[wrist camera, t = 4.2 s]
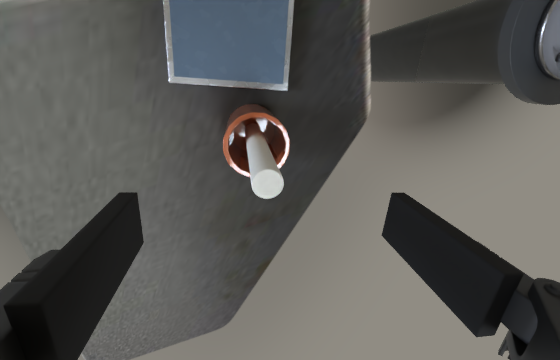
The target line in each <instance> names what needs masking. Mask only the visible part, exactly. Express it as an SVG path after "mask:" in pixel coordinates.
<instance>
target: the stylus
mask: <svg viewBox="0 0 560 360" xmlns="http://www.w3.org/2000/svg"><path fill="white" fill-rule="evenodd" d="M245 138H246V146H247V154H248V161H249V169H250V177H251V184H252V189H253V191H254V193H255V194H256V195H257V196H259V197H261V198H264V199H270V198H274V197H276V196H277V195H278V194H279V193H280V192H281V191H282V189H283V186H284V180H283V177H282V175H281V173H280V171H279V169H278V166H277V164H276V162H275V160H274V158H273V155H272V153H271V151H270V149H269V147H268V144H267V142H266V140H265V138H264V136H263V133H262V131H261V129H260V127H259V126H258V125H257V124H254V123H252V124H249V125H247V126H246V128H245Z"/></svg>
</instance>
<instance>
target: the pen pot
mask: <svg viewBox="0 0 560 360" xmlns="http://www.w3.org/2000/svg"><path fill="white" fill-rule="evenodd" d="M252 123H254V124H257V125H258V126H259V127H260V129H261V131H262V133H263V136H264V138H265V140H266V142H267V144H268V147H269V149H270V151H271V153H272V155H273V158H274V160H275V162H276V164H277V166H278V169H279V168H280V167H282V166H283V165H284V163H285V161H286V159H287V157H288V155H289V148H290V140H289V136H288V133H287V130H286V128H285V127H284V126H283V125H282V124H281V123H280V121H279V120H278V119H277V118H276V117H275V116H274V115H273V114H272V113H271V112H270V111H269V110H268V109H266V108H264V107H263V106H260V105H257V104H247V105H243V106H241V107H239V108H237V109H236V110H235V111H234V112H233V113H232V114H231V116H230V118H229V120H228V123H227V126H226V130H225V134H224V138H223V152H224V155H225V157H226V159H227V161H228V164H229V165H230V166H231V167H232V168H233V169H234V170H235V171H237V172H238V173H240V174H242V175H245V176H247V177H250V169H249V161H248V154H247V146H246V138H245V128H246V126H247V125H249V124H252Z"/></svg>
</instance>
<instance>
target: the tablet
mask: <svg viewBox="0 0 560 360" xmlns="http://www.w3.org/2000/svg"><path fill="white" fill-rule="evenodd" d="M163 7H164V21H165V34H166V48H167V61H168V75H169V83H176V84H191V85H206V86H221V87H236V88H251V89H266V90H280V91H288V81H289V67H290V54H291V40H292V27H293V13H294V0H163Z"/></svg>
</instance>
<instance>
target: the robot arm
mask: <svg viewBox="0 0 560 360" xmlns="http://www.w3.org/2000/svg"><path fill="white" fill-rule="evenodd" d="M534 57H535V61H536V64H537V66H538V68H539V70H540V71H541V72H542V74H544V75H545V76H546V77H548V78H550V79H553V80H557V81H560V0H550V1H549V2H548V4H547V6H546V7H545V9H544V11H543V13H542V15H541V17H540V20H539V22H538V25H537V28H536V33H535V38H534ZM382 236H383V237H384V238H385V239H386V241H387V242H388V243H389V244H390V245H391V246H392V247H393V248H394V249H395V250H396V251H397V253H399V255H400V256H401V257H402V258H403V259H404V260H405V261H406V262H407V263H408V264H409V265H410V266H411V268H412V269H413V270H414V271H415V272H416V273H417V274H418V275H419V276H420V277H421V278H422V279H423V280H424V282H425V283H426V284H427V285H428V286H429V287H430V288H431V289H432V290H433V291H434V292H435V293H436V294H437V295H438V297H440V299H441V300H442V301H443V302H444V303H445V304H446V305H447V306H448V307H449V308H450V309H451V311H452V312H453V313H454V314H455V315H456V316H457V317H458V318H459V319H460V320H461V321H462V322H463V323H464V324H465V326H467V328H468V329H469V330H470V331H471V332H472V333H473V334H474V335H475V336H476V337H482V336H492V335H495V333H496V331H497V329H498V327H499V324H500V323H501V322H502V323H503V324H504V325H505V326H506V327H507V328H508V329H509V331H508V333H507V335H506V337H505V339H504V341H503V343H502V345H501V347H500V349H499V352H498V355H501V356H502V355H503V353H504V351H507V350H508V351H509V356H508V359H510V360H560V283H559V282H556V281H554V280H549V279H545V278H537V279H535V280H534V279H532V278H531V277H529V276H528V275H526V274H525V273H523V272H522V271H521V270H519V269H517V268H516V267H515V266H513V265H511V264H510V263H509V262H507V261H505V260H504V259H502V258H500V257H499V256H498V255H497V254H495V253H494V252H492V251H490V250H489V249H488V248H486V247H485V246H483V245H482V244H480V243H479V242H477V241H475V240H473V239H472V238H470V237H469V236H467V235H466V234H465V233H463V232H462V231H460V230H459V229H457V228H456V227H454V226H453V225H451V224H450V223H448V222H447V221H445V220H444V219H442V218H441V217H439V216H438V215H436V214H435V213H433V212H432V211H431V210H429V209H428V208H426V207H425V206H423V205H422V204H420V203H419V202H417V201H416V200H414V199H413V198H411V197H410V196H408V195H407V194H405V193H392V194H391V198H390V203H389V207H388V212H387V215H386V220H385V224H384V228H383V233H382ZM143 243H144V241H143V234H142V226H141V219H140V211H139V204H138V196H137V193H118V194H117V195H116V196H115V197H114V198H113V199H112V200H111V201H110V202H109V203H108V204H107V205H106V206H105V207H104V208H103V209H102V210H101V211H100V212H99V213H98V214H97V215H96V216H95V217H94V218H93V219H92V220H91V221H90V222H89V223H88V224H87V225H86V226H85V227H83V228H82V229H81V230H80V231H79V232H78V233H77V234H76V235H75V236H74V237H73V238H72V239H71V240H70V241H69V242H68V243H67V244H66V245H65V246H64V247H63V248H62V249H61V250H50V251H49V252H47V253H45V254H43V255H41V256H40V257H38V258H36V259H34V260H33V261H32V262H31V263H30V264H29V265H27V266H26V267H25V268H24V269H23V270H22V272H21V273H19V274H17V275H16V276H15V277H14V278H13V279H12V280H11V282H10V283H7V284H6V285H5V286H4V287H3V288H2V289H1V290H0V360H78V358H79V356H80V354H81V352H82V351H83V349H84V347H85V345H86V344H87V342H88V340H89V338H90V337H91V335H92V333H93V331H94V329H95V328H96V326H97V324H98V322H99V321H100V319H101V317H102V315H103V314H104V312H105V310H106V308H107V306H108V305H109V303H110V301H111V299H112V298H113V296H114V294H115V292H116V291H117V289H118V287H119V285H120V283H121V282H122V280H123V278H124V276H125V275H126V273H127V271H128V269H129V268H130V266H131V264H132V262H133V260H134V259H135V257H136V255H137V253H138V252H139V250H140V248H141V246H142V245H143Z"/></svg>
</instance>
